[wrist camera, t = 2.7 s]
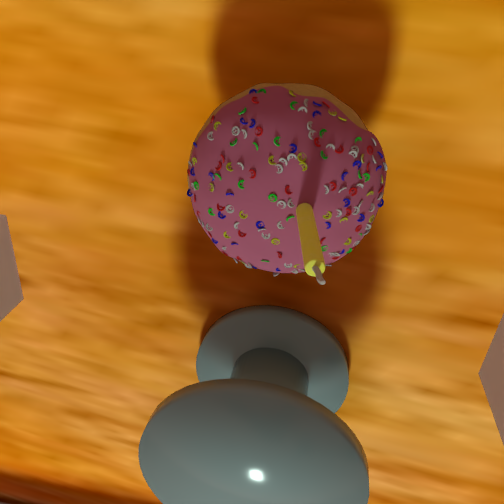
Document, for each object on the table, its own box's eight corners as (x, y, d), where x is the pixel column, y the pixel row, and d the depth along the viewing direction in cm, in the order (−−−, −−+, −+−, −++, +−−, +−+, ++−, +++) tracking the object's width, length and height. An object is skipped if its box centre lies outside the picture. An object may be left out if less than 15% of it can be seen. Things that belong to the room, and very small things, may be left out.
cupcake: (390, 71, 22) (428, 143, 11) (367, 235, 26) (379, 397, 16) (209, 65, 23) (97, 125, 13) (214, 222, 27) (133, 364, 17)
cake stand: (381, 309, 28) (393, 422, 21) (347, 444, 34) (346, 568, 27) (186, 278, 29) (132, 373, 22) (185, 412, 35) (143, 522, 28)
